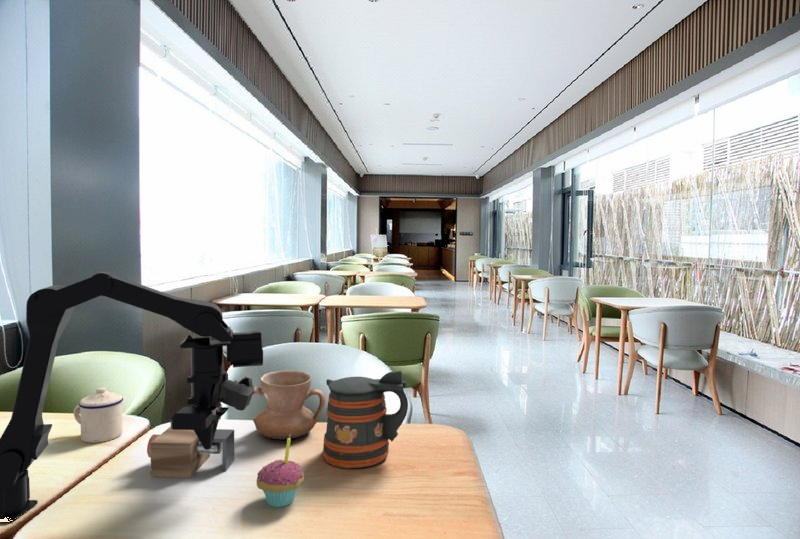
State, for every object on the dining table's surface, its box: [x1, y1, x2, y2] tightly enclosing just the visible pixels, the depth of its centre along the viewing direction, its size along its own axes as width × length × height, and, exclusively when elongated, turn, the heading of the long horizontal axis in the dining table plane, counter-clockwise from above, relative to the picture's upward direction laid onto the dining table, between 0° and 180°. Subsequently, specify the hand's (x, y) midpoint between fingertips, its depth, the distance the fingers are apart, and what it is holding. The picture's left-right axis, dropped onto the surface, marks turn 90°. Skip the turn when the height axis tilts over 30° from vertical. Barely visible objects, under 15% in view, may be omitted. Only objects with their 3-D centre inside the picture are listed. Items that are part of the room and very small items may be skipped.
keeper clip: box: [199, 428, 235, 472], centre depth 107 cm, size 5×6×7 cm
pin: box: [146, 434, 222, 459], centre depth 107 cm, size 5×14×5 cm, turn 89°
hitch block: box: [150, 425, 211, 479], centre depth 107 cm, size 10×8×7 cm
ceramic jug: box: [252, 370, 326, 440], centre depth 125 cm, size 18×14×14 cm
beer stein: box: [322, 369, 409, 470], centre depth 113 cm, size 19×15×20 cm
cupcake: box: [256, 434, 305, 508], centre depth 93 cm, size 9×8×12 cm
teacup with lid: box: [73, 386, 124, 444], centre depth 122 cm, size 12×9×12 cm
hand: (208, 448), depth 99 cm, fingers closed
